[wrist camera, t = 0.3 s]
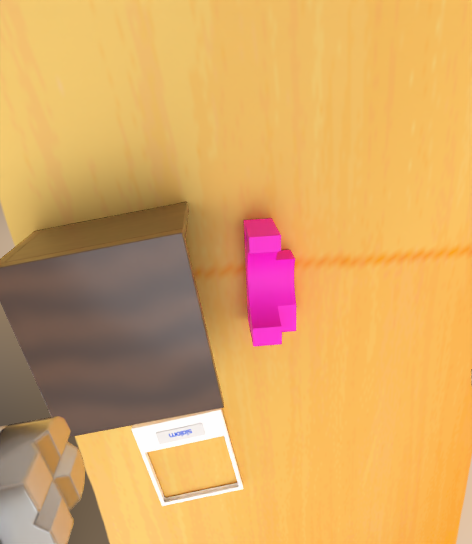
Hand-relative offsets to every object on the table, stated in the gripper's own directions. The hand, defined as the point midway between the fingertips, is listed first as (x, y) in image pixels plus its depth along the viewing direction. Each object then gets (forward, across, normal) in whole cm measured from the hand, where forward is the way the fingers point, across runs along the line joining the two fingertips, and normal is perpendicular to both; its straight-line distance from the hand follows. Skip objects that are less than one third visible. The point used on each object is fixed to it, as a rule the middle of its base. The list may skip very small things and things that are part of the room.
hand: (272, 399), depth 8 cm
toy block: (+48, -4, +18) cm, 52 cm away
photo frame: (+48, +14, +49) cm, 70 cm away
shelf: (+48, +15, +18) cm, 53 cm away
